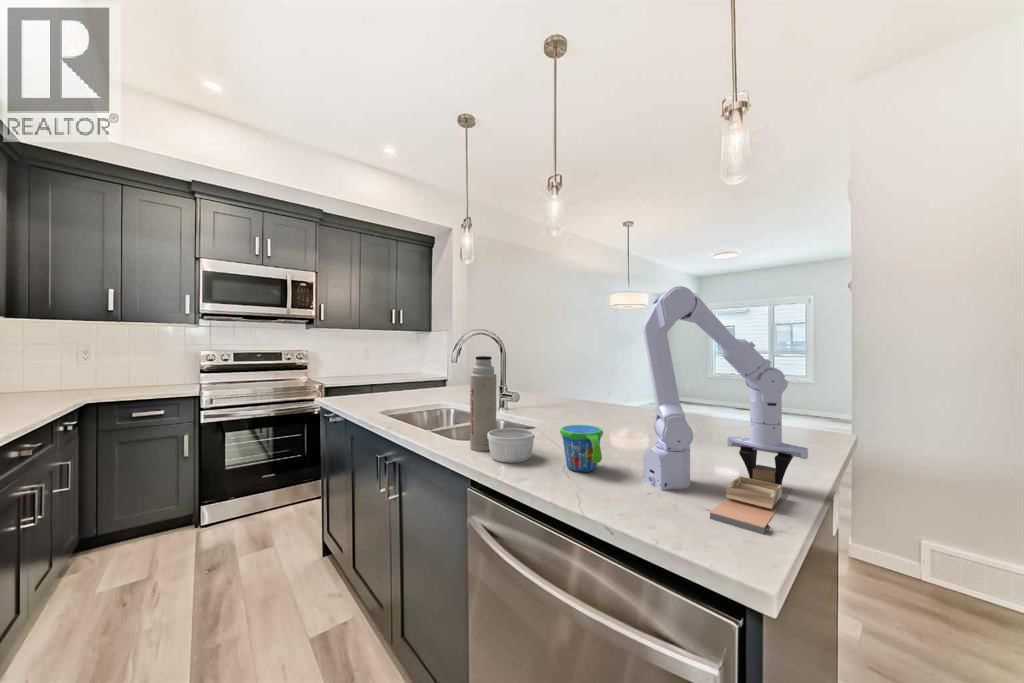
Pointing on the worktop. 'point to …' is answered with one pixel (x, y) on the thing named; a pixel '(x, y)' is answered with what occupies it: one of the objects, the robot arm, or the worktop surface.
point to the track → (747, 513)
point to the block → (764, 473)
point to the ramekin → (510, 444)
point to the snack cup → (582, 447)
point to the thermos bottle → (482, 403)
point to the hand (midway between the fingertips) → (765, 485)
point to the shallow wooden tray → (754, 492)
